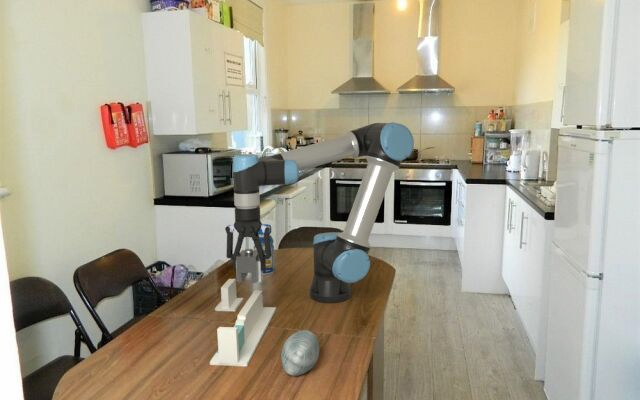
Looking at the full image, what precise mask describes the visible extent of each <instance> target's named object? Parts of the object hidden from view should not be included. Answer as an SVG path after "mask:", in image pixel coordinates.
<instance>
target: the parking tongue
mask: <svg viewBox="0 0 640 400" xmlns="http://www.w3.org/2000/svg"><path fill="white" fill-rule="evenodd" d="M220 297H221V301H220V302H219V303H218V304H217V305H216V307H215V308H214V311H215V312H236V311H237V310H238V309H239V307H240V306H241V304H242V303H243V302H244V297H237V278H229V279H227V280H226V282H225V283H224V284H223V285H222V286H221V287H220Z"/></svg>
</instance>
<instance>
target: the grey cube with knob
mask: <svg viewBox="0 0 640 400" xmlns="http://www.w3.org/2000/svg"><path fill="white" fill-rule="evenodd" d="M259 260H260V258H259V255H258V252H257V250H254V248H246V249H242V250H240V253H239V254H238V255H237V256H236V267H237V273H236V283H242V282H243V281H244V280H245V279H246V278H247V276H249V275H248V274H251V283H252V284H257V283H259V282H258V261H259Z"/></svg>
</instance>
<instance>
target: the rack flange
mask: <svg viewBox="0 0 640 400" xmlns="http://www.w3.org/2000/svg"><path fill="white" fill-rule="evenodd" d="M263 305H264V304H263V290H254V291H253V292H252V294H251V295H250V296H249V297H248V299H247V300H246V302H245V304H244V305H243V307H242V308H241V309H240V311H239V313H238V314H237V318H236V320H235V324H234V326H233V327H231V326H228V327H227V326H219V327H218V328H217V329H216V330H217V331H216V333H217V348H218V349H217V351H216V352H215V354H214V355H213V356H212V358H211V359H210V361H209V365H210V366H226V367H227V366H229V367H230V366H231V367H248V366H249V363H250V362H251V360H252V358H253V356H254V354H255V352H256V350H257V348H258V346H259V344H260V343H261V340H262V338H263V336H264V335H265V332H266V331H267V328H268V327H269V325H270V324H271V323H270V322H271V321H272V319H273V317H274V315H275V313H276V312H277V307H276V306H275V307H271V306H269V307H268V306H265V307H264V306H263Z"/></svg>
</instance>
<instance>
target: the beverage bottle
mask: <svg viewBox="0 0 640 400" xmlns="http://www.w3.org/2000/svg"><path fill="white" fill-rule="evenodd" d="M262 225H265V226H270V227H271V229H270V233H269V234H270V245H271V257H270V259H267V260H266V269H265V271H263V276H266V275H271V274H274V272H275V246H274V242H275V241H274V238H273V237H272V235H271V234H272V226H271V224H267V223H266V224H265V223H264V224H263V223H262ZM258 234H259V239H260V242H261V245H262V247H263V250H264V253H265V243H264V233H263V232H262V229H260V230H259V232H258ZM253 245H254V246H253V250H257V249H256V247H255V244H253ZM265 255H266V253H265Z"/></svg>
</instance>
